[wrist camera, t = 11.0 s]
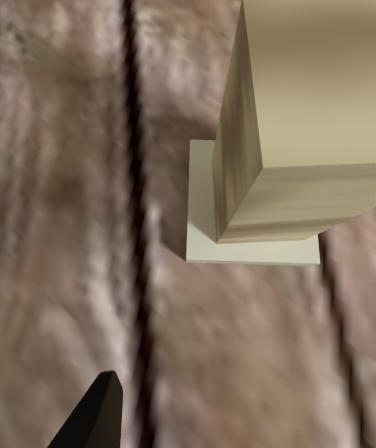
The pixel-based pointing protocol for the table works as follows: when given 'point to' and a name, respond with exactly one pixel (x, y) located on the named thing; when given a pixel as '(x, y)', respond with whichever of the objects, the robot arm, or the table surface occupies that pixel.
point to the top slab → (206, 230)
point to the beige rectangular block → (296, 121)
